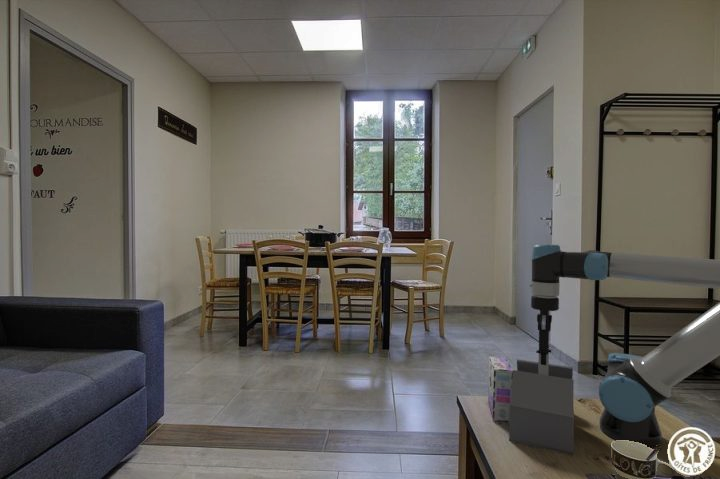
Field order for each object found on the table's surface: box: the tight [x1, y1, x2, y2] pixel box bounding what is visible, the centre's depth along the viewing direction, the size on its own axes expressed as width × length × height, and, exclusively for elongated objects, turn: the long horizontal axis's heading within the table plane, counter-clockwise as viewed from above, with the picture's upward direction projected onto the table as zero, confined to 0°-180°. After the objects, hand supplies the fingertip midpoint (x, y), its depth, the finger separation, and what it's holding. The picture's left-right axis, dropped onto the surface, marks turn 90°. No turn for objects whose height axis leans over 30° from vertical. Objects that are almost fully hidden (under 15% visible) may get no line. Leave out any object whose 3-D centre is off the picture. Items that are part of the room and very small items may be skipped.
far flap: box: [516, 358, 574, 379], centre depth 125 cm, size 16×10×1 cm
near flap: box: [510, 369, 575, 418], centre depth 111 cm, size 16×10×1 cm
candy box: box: [487, 356, 514, 424], centre depth 130 cm, size 14×6×16 cm, turn 168°
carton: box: [508, 406, 575, 456], centre depth 118 cm, size 16×20×10 cm
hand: (543, 374), depth 119 cm, fingers closed
